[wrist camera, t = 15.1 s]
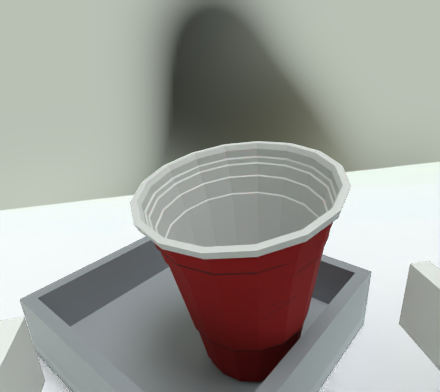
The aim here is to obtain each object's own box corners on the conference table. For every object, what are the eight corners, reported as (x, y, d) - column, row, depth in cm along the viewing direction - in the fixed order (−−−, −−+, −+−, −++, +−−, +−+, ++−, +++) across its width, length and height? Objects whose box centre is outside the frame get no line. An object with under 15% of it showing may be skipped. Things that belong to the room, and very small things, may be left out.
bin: (199, 251, 37) (197, 210, 35) (363, 323, 27) (371, 271, 25) (36, 351, 25) (19, 299, 24) (214, 545, 15) (208, 478, 13)
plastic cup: (130, 362, 23) (81, 194, 18) (233, 271, 30) (220, 132, 25) (277, 481, 17) (269, 272, 11) (364, 329, 24) (385, 157, 18)
